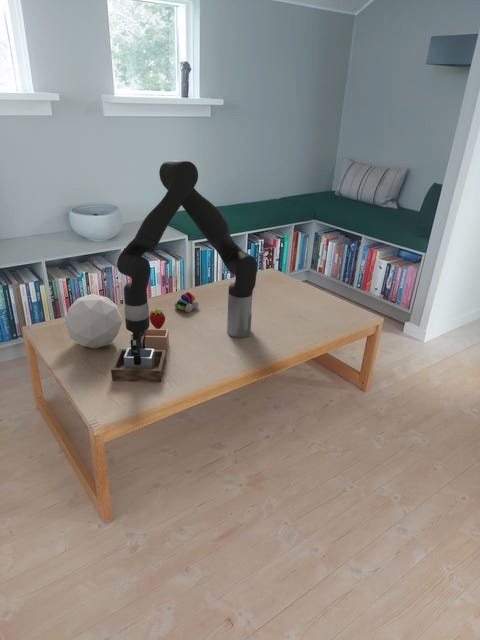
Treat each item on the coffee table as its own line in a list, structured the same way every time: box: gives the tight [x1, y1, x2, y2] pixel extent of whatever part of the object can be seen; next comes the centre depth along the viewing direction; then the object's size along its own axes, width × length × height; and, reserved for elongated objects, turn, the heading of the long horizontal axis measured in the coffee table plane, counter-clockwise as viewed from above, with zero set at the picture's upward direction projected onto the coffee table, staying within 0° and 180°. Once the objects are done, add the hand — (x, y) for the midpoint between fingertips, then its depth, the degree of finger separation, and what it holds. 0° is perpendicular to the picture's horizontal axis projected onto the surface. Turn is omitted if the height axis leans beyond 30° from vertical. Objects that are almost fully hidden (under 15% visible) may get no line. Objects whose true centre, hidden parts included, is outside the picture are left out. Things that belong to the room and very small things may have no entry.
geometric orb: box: [64, 293, 123, 349], centre depth 168 cm, size 19×20×20 cm
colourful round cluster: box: [173, 291, 199, 313], centre depth 201 cm, size 8×10×7 cm
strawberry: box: [149, 308, 166, 329], centre depth 182 cm, size 6×8×10 cm
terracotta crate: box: [145, 328, 170, 352], centre depth 171 cm, size 9×6×6 cm, turn 91°
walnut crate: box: [110, 348, 167, 383], centre depth 157 cm, size 16×13×4 cm
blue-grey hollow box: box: [124, 347, 155, 369], centre depth 156 cm, size 9×6×6 cm, turn 91°
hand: (139, 357), depth 156 cm, fingers open, 8 cm apart
